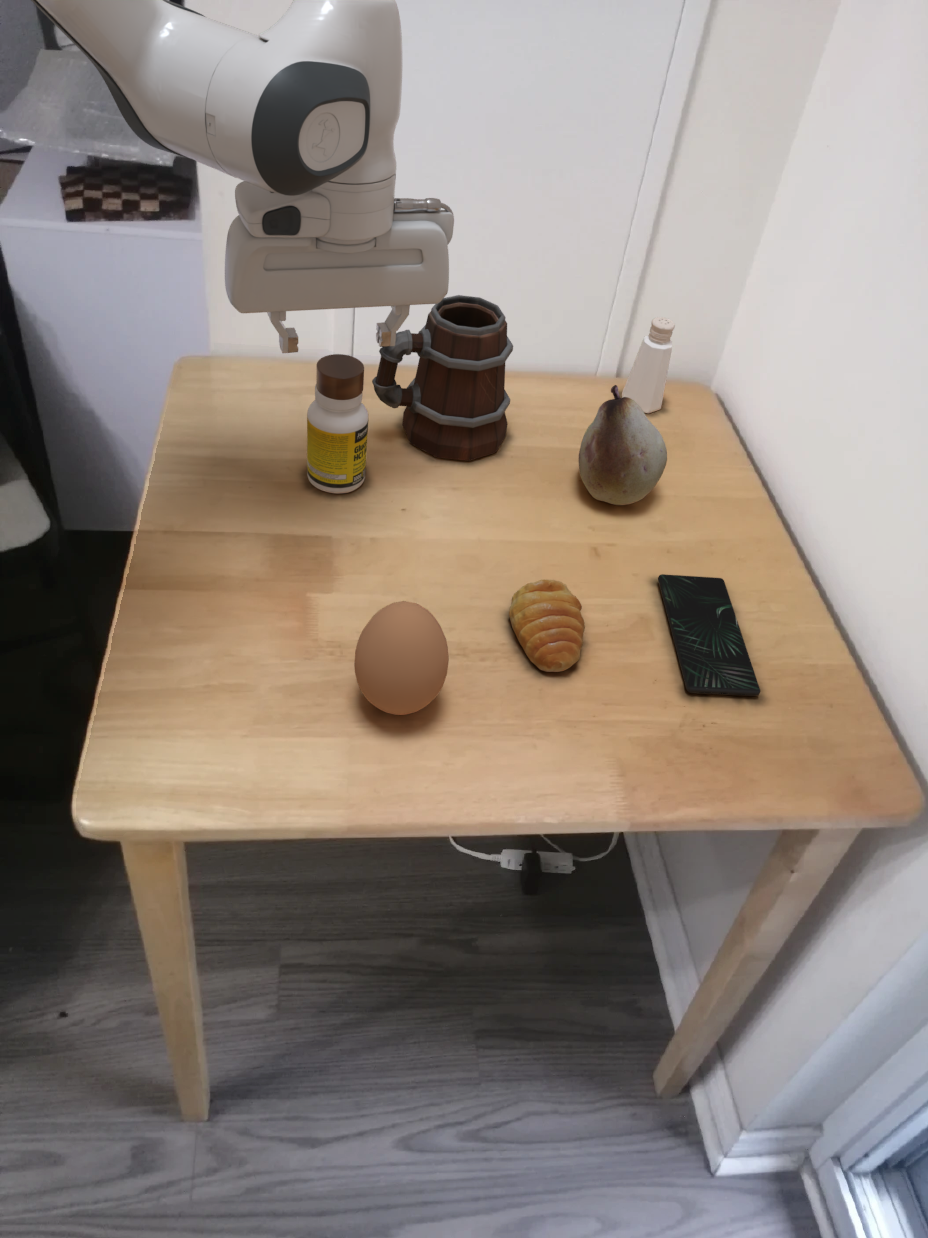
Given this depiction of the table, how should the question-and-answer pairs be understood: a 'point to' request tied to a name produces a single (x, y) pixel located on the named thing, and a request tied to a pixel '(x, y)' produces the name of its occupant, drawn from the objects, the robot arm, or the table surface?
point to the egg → (401, 658)
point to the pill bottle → (336, 443)
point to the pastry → (548, 624)
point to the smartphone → (707, 636)
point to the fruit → (621, 453)
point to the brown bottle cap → (339, 377)
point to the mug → (452, 379)
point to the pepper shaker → (651, 367)
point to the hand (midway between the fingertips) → (337, 346)
